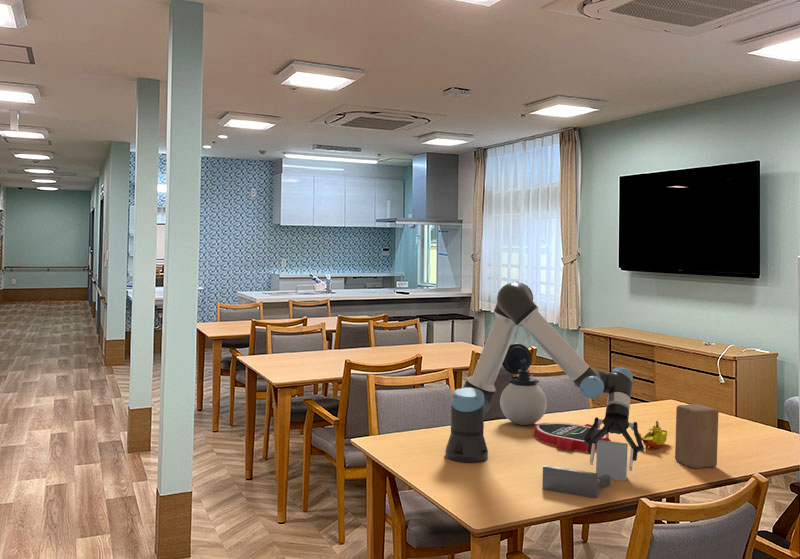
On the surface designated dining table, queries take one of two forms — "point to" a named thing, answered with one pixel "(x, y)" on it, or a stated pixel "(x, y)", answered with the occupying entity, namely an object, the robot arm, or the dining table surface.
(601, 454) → the panel
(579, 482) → the rack
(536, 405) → the light fixture
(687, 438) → the wooden block
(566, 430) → the emblem
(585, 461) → the dining table surface
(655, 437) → the toy submarine
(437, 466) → the dining table surface
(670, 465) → the dining table surface
